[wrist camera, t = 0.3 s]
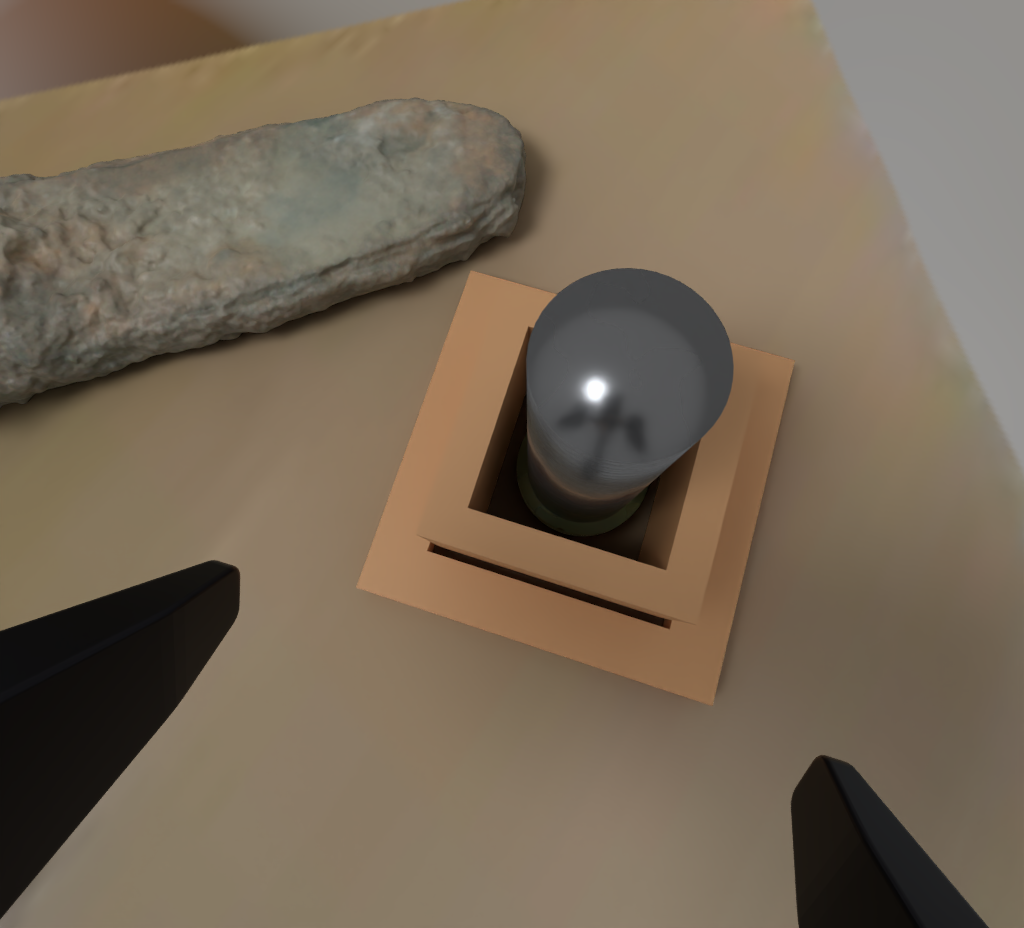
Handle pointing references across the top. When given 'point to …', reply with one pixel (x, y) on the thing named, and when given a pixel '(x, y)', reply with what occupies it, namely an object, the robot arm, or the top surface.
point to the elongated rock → (242, 233)
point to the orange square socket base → (543, 613)
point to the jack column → (616, 394)
